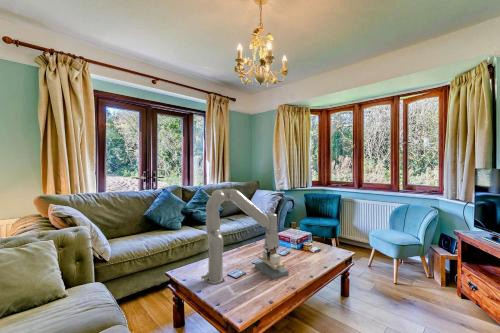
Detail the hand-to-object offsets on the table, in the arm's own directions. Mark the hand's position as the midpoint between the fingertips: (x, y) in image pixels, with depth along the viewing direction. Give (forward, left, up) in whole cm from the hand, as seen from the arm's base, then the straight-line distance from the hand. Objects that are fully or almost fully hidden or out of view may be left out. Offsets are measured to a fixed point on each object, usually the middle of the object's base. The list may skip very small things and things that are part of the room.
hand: (271, 255), depth 166 cm
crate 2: (0, -4, -3) cm, 5 cm away
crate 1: (0, +5, -3) cm, 6 cm away
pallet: (0, 0, -5) cm, 5 cm away
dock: (0, 0, -12) cm, 12 cm away
